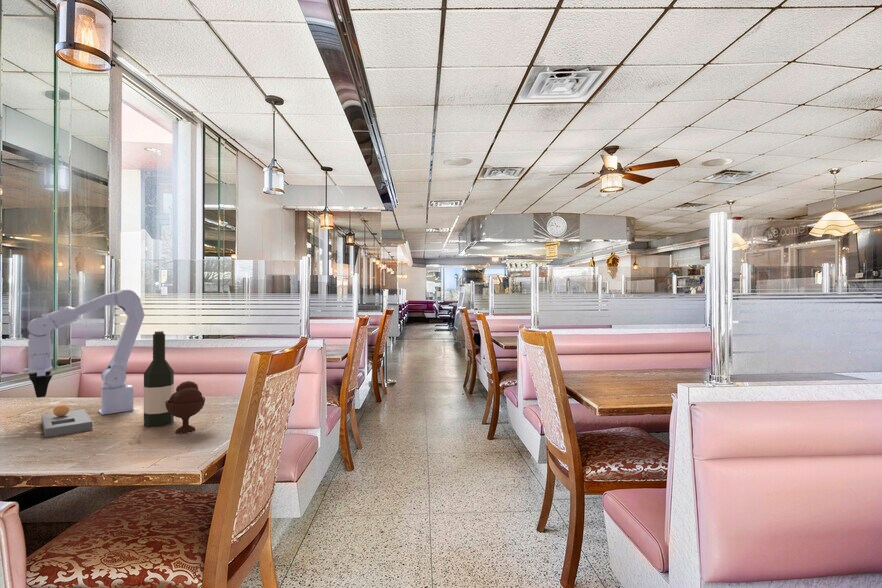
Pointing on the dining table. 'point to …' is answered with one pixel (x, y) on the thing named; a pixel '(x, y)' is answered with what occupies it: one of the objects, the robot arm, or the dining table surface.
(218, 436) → the dining table surface
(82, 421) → the board
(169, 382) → the wine bottle
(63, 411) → the ball
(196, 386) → the ice cream bowl
